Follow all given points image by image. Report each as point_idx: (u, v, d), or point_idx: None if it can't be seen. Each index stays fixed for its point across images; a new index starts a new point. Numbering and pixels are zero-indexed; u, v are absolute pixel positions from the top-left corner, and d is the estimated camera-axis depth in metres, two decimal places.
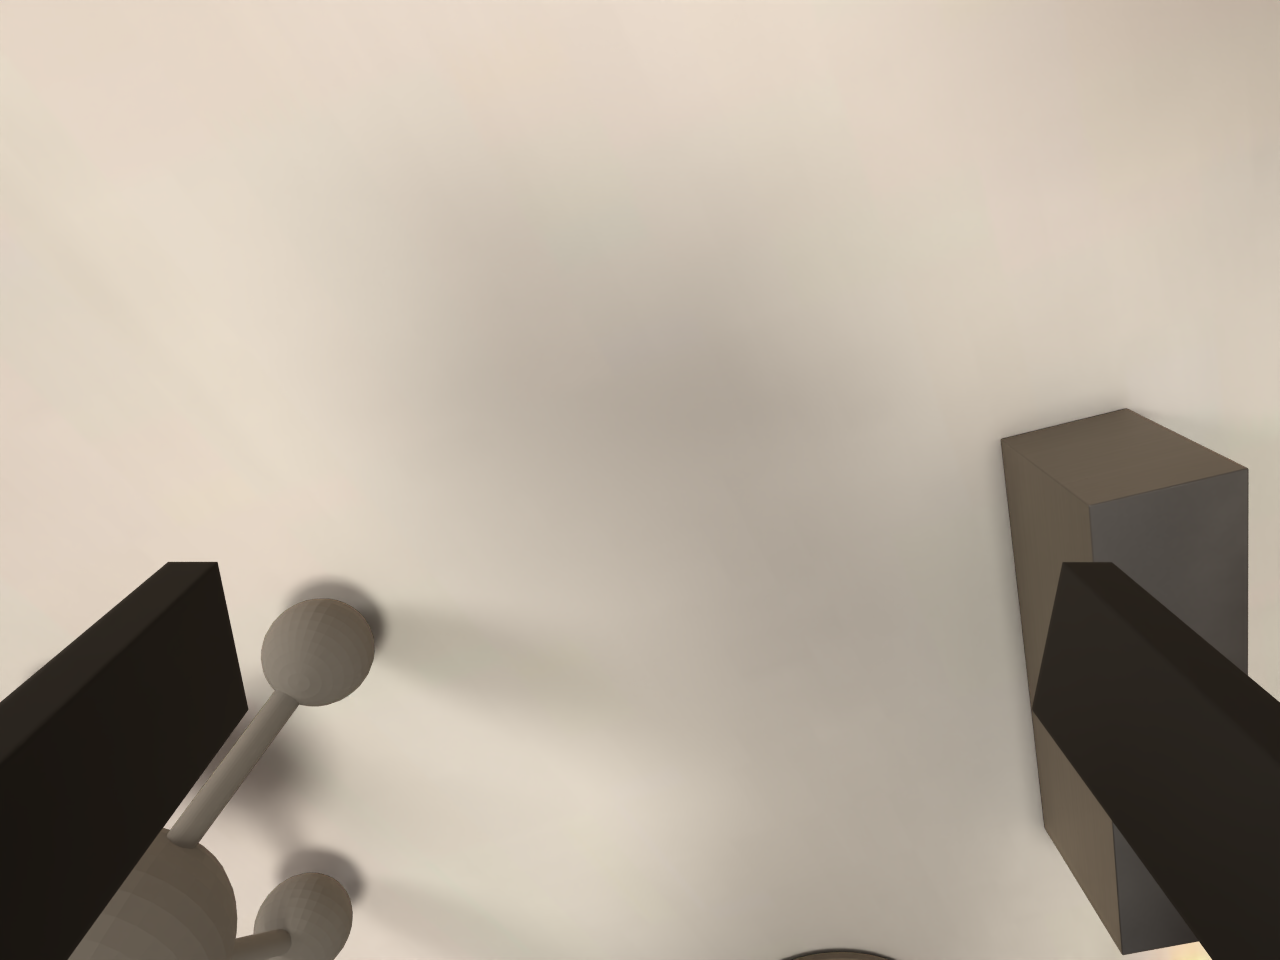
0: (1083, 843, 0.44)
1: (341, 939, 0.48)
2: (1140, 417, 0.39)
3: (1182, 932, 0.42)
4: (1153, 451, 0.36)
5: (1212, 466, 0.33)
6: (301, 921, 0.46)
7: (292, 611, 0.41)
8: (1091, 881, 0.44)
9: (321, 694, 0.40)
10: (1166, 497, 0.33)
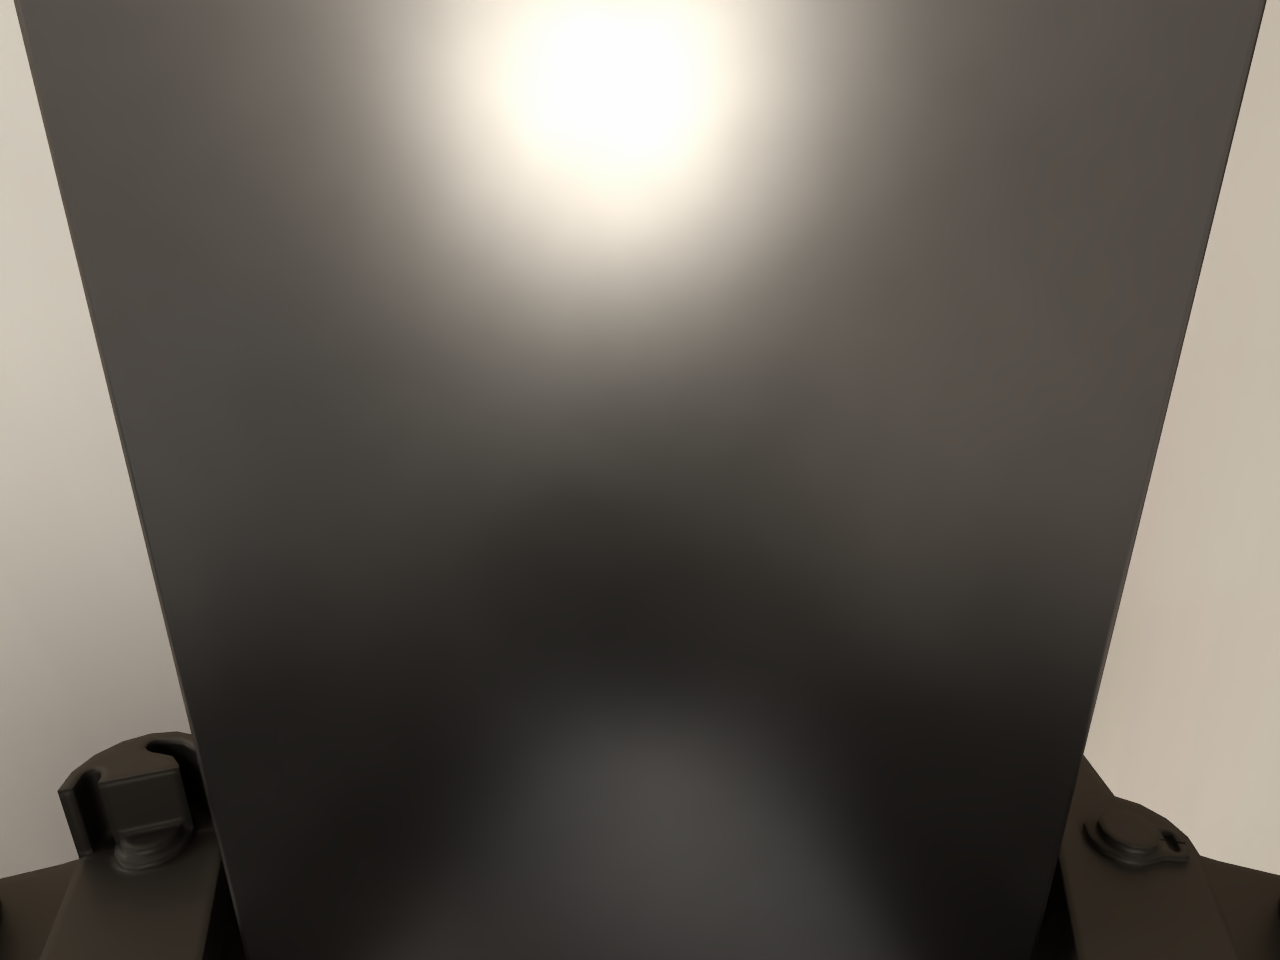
0: None
1: None
2: None
3: None
4: None
5: None
6: None
7: None
8: None
9: None
10: None
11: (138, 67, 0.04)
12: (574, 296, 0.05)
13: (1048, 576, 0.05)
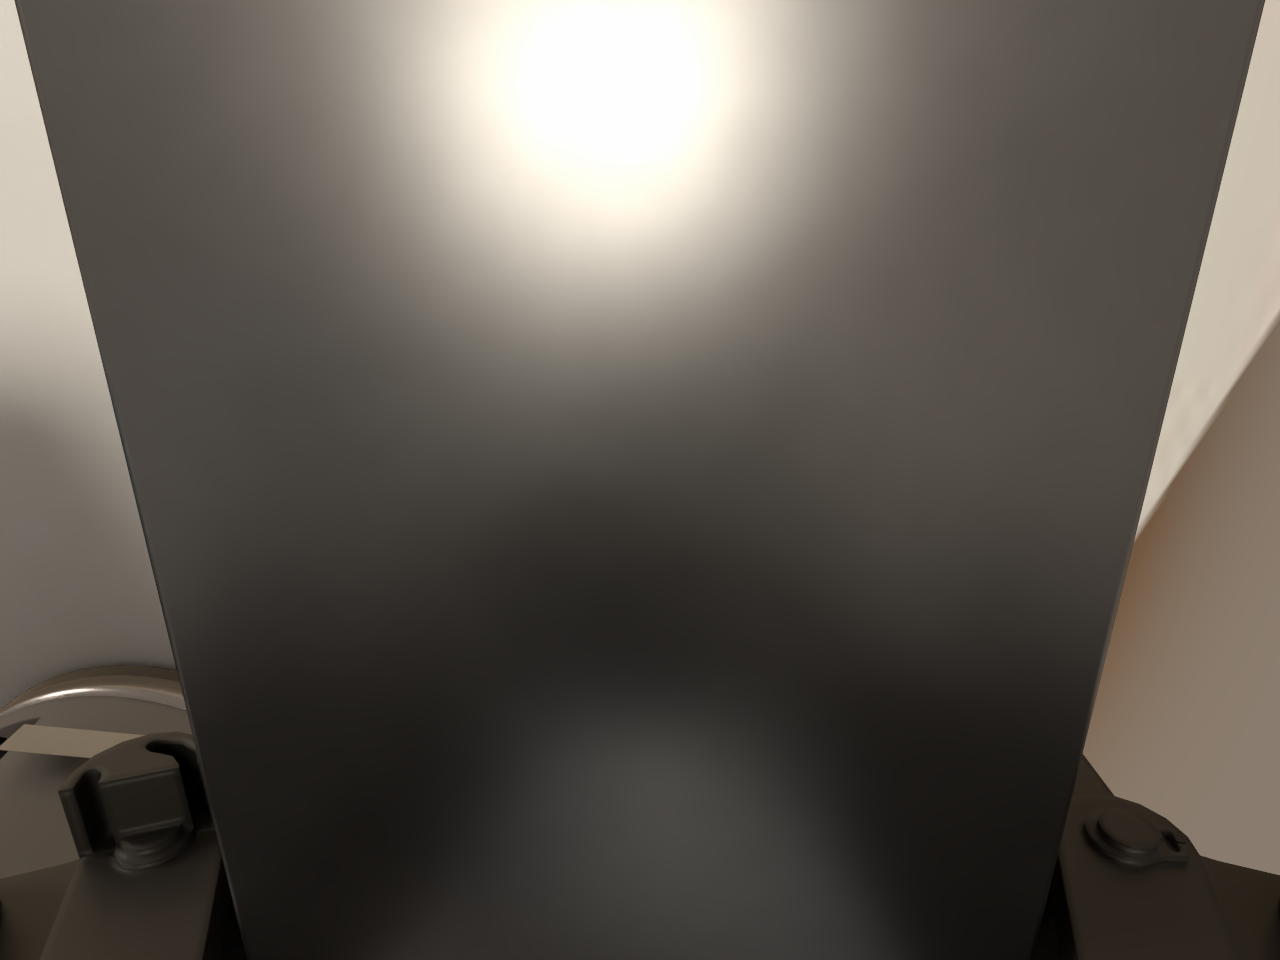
0: None
1: None
2: None
3: None
4: None
5: None
6: None
7: None
8: None
9: None
10: None
11: (139, 65, 0.04)
12: (574, 294, 0.05)
13: (1047, 574, 0.05)
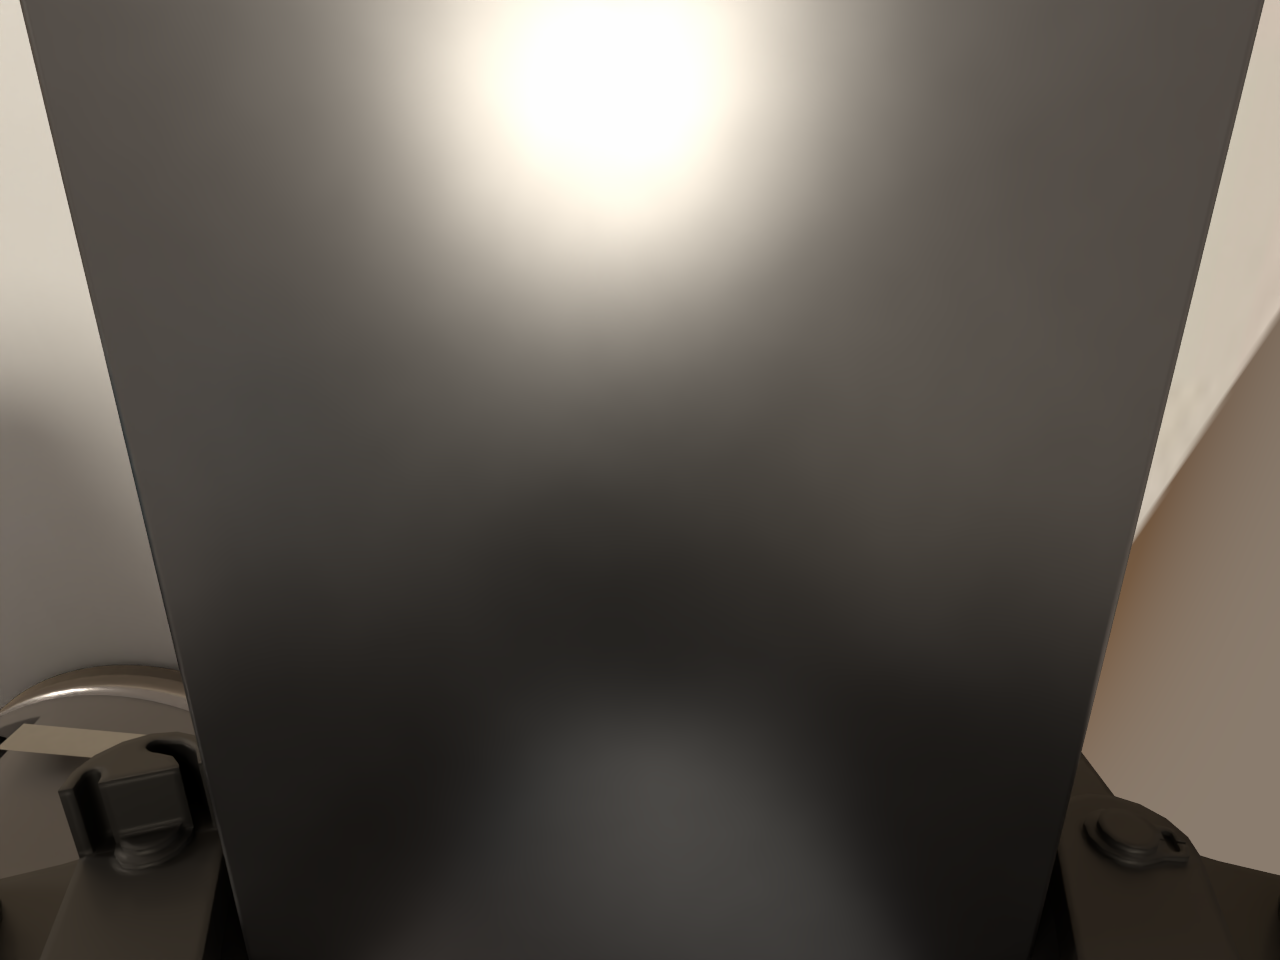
0: None
1: None
2: None
3: None
4: None
5: None
6: None
7: None
8: None
9: None
10: None
11: (142, 64, 0.04)
12: (574, 292, 0.05)
13: (1047, 573, 0.05)
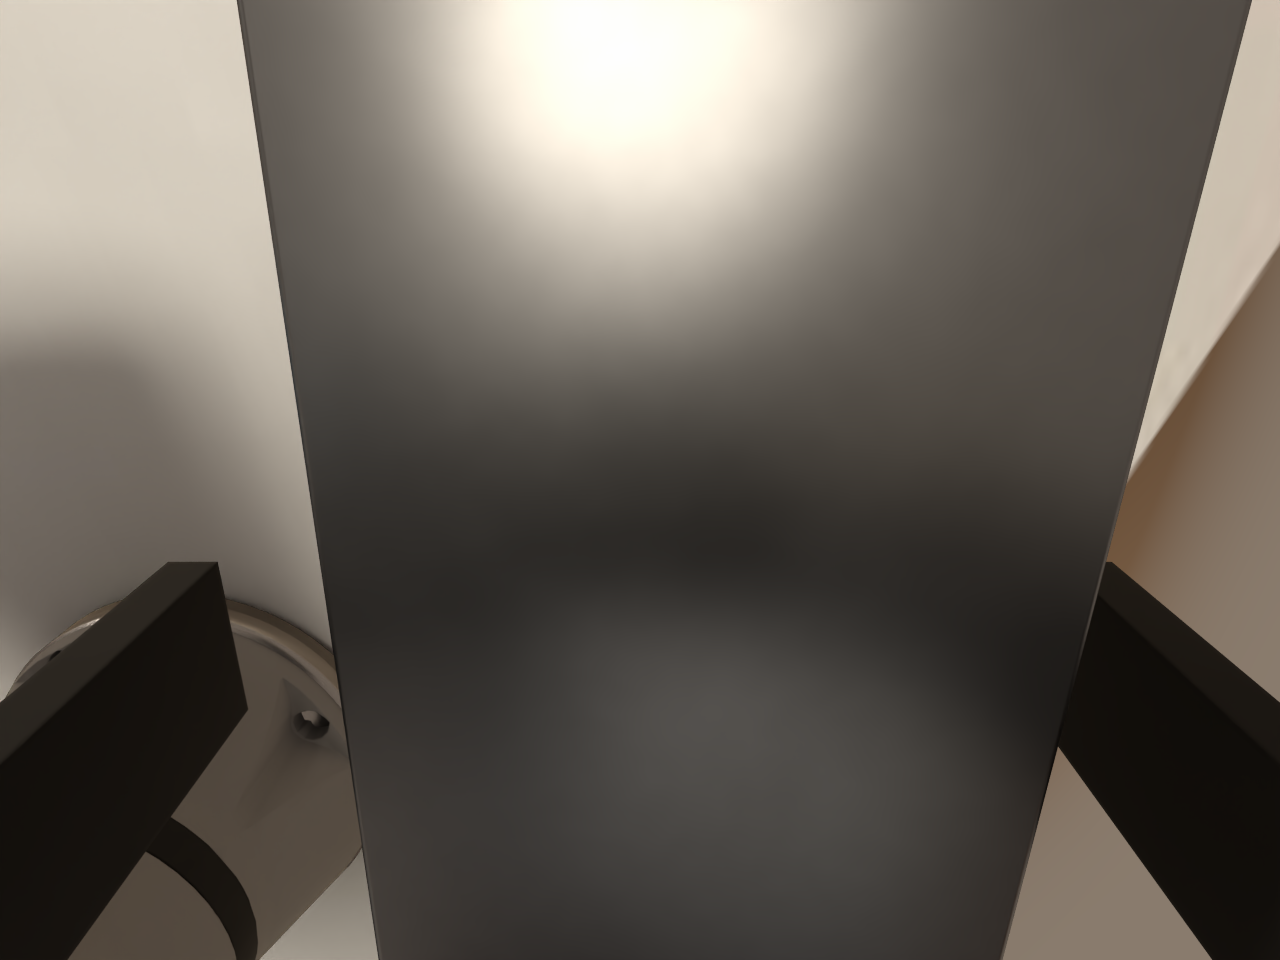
0: None
1: None
2: None
3: None
4: None
5: None
6: None
7: None
8: None
9: None
10: None
11: None
12: (676, 86, 0.05)
13: (1085, 368, 0.06)
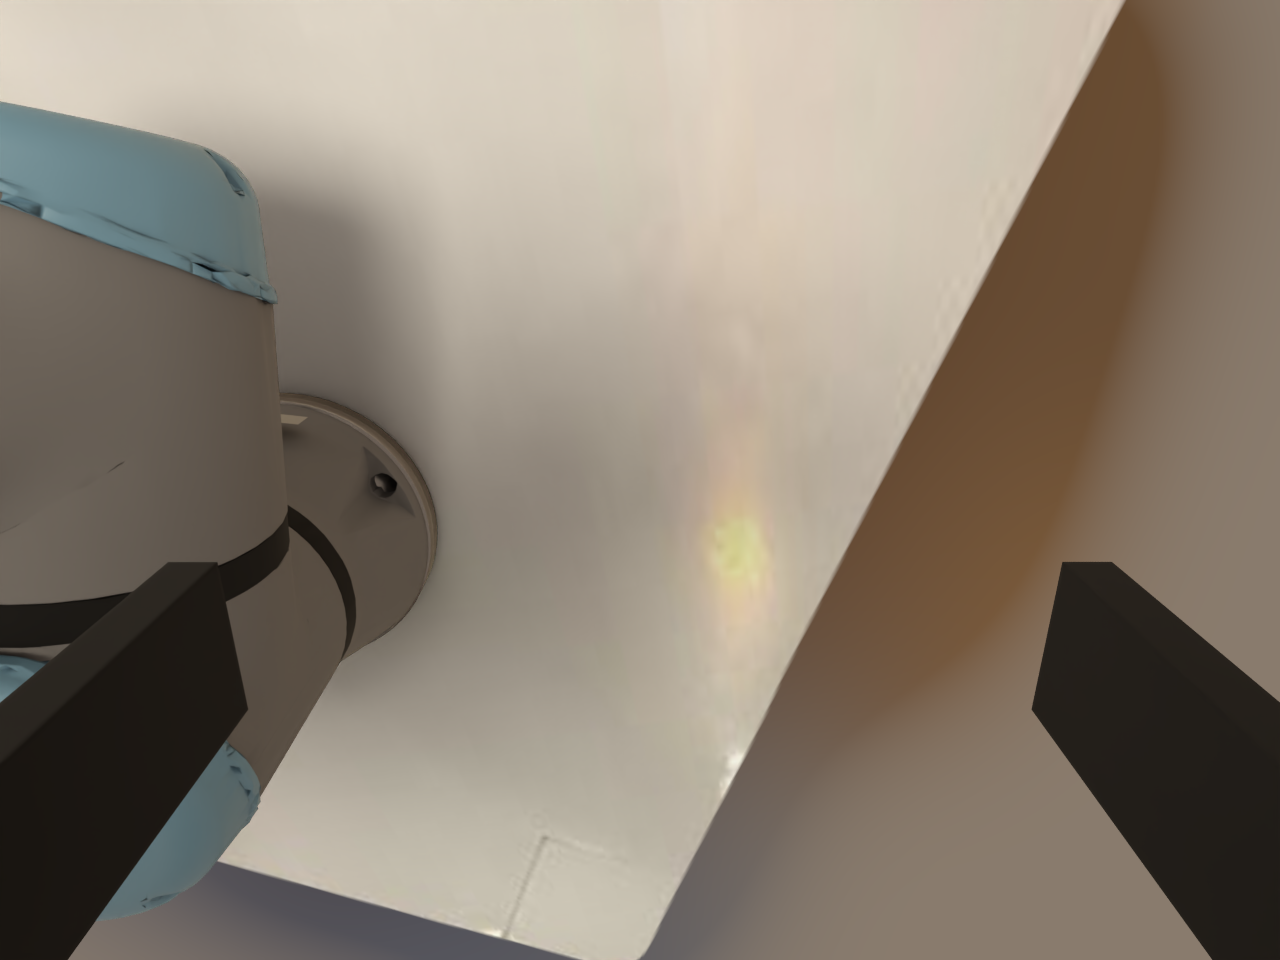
0: None
1: None
2: None
3: None
4: None
5: None
6: None
7: None
8: None
9: None
10: None
11: None
12: None
13: None
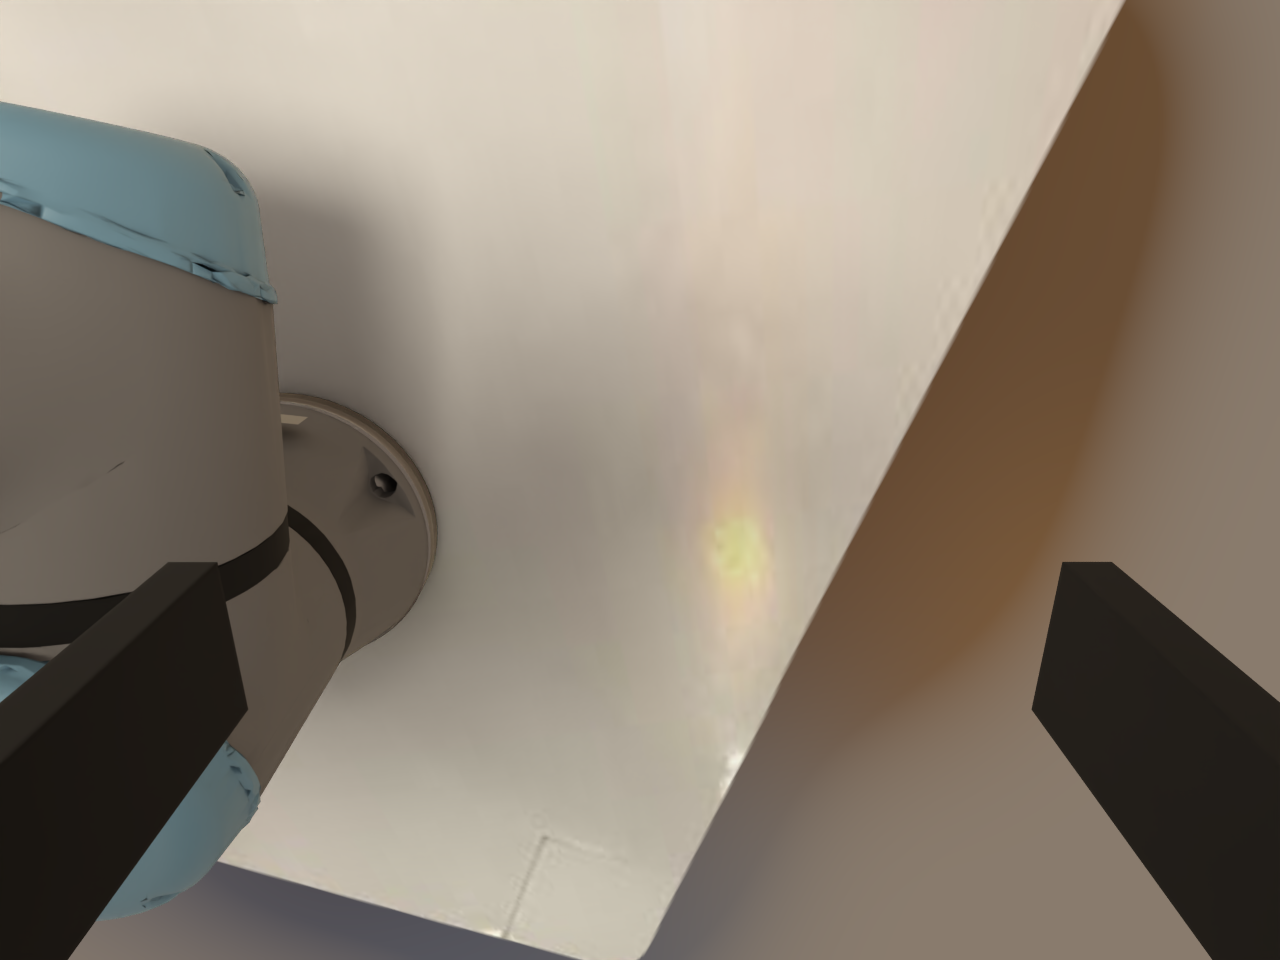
0: None
1: None
2: None
3: None
4: None
5: None
6: None
7: None
8: None
9: None
10: None
11: None
12: None
13: None
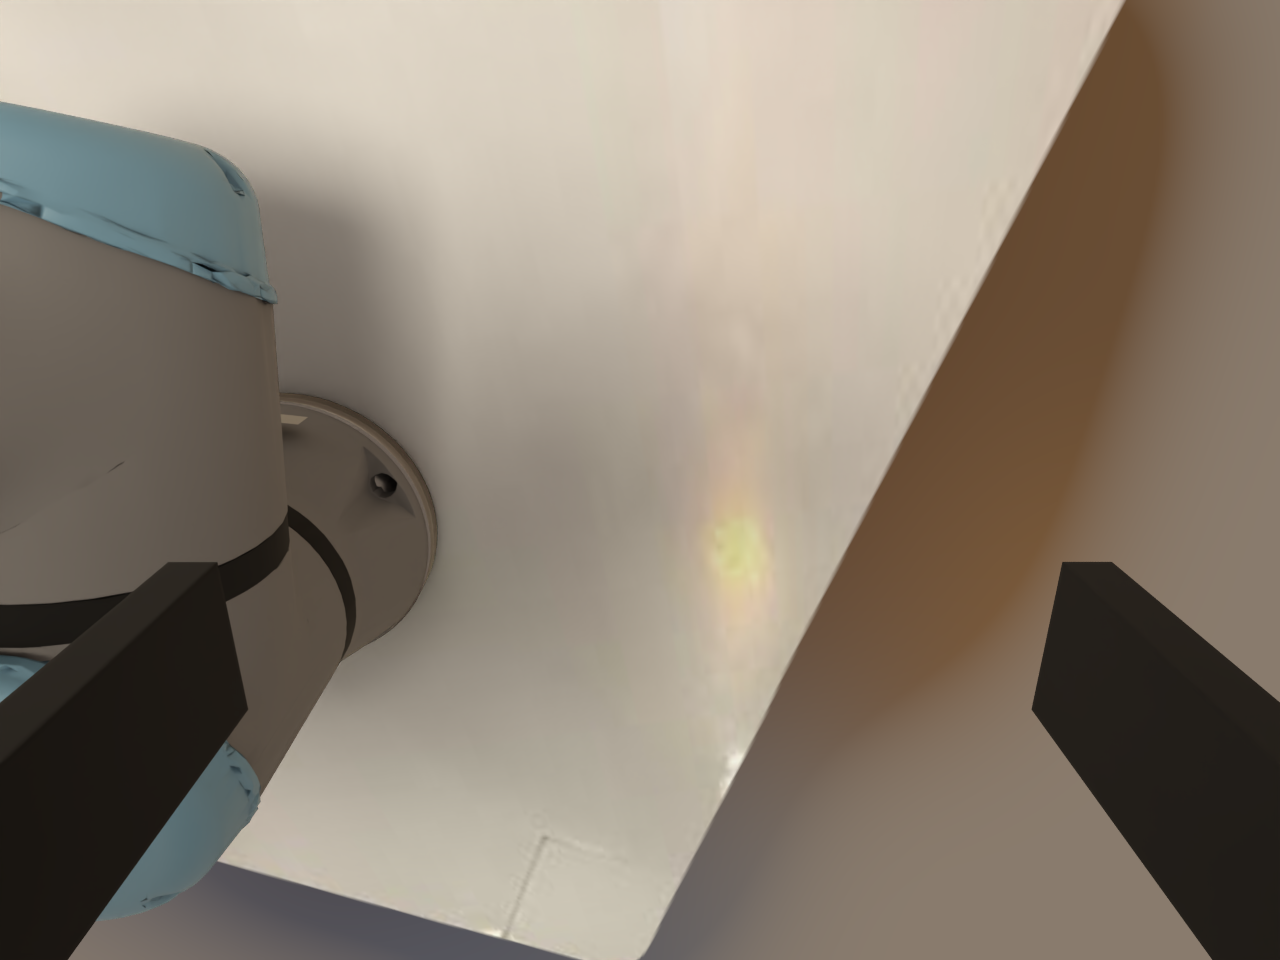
0: None
1: None
2: None
3: None
4: None
5: None
6: None
7: None
8: None
9: None
10: None
11: None
12: None
13: None
